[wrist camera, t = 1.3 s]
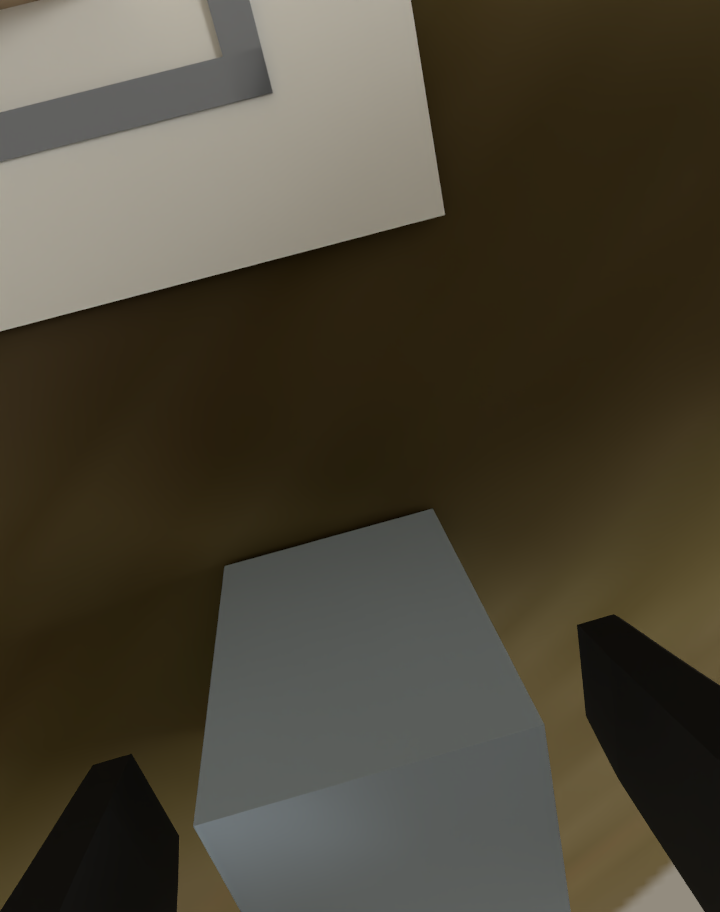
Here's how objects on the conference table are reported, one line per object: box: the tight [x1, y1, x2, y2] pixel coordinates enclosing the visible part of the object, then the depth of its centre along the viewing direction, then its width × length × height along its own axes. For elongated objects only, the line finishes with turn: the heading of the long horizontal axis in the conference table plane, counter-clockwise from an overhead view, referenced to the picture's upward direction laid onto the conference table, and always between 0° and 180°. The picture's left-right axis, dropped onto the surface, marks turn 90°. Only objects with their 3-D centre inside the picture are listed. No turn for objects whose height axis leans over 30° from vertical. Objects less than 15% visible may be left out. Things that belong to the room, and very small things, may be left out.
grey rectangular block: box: [193, 509, 571, 912], centre depth 10 cm, size 4×4×5 cm
